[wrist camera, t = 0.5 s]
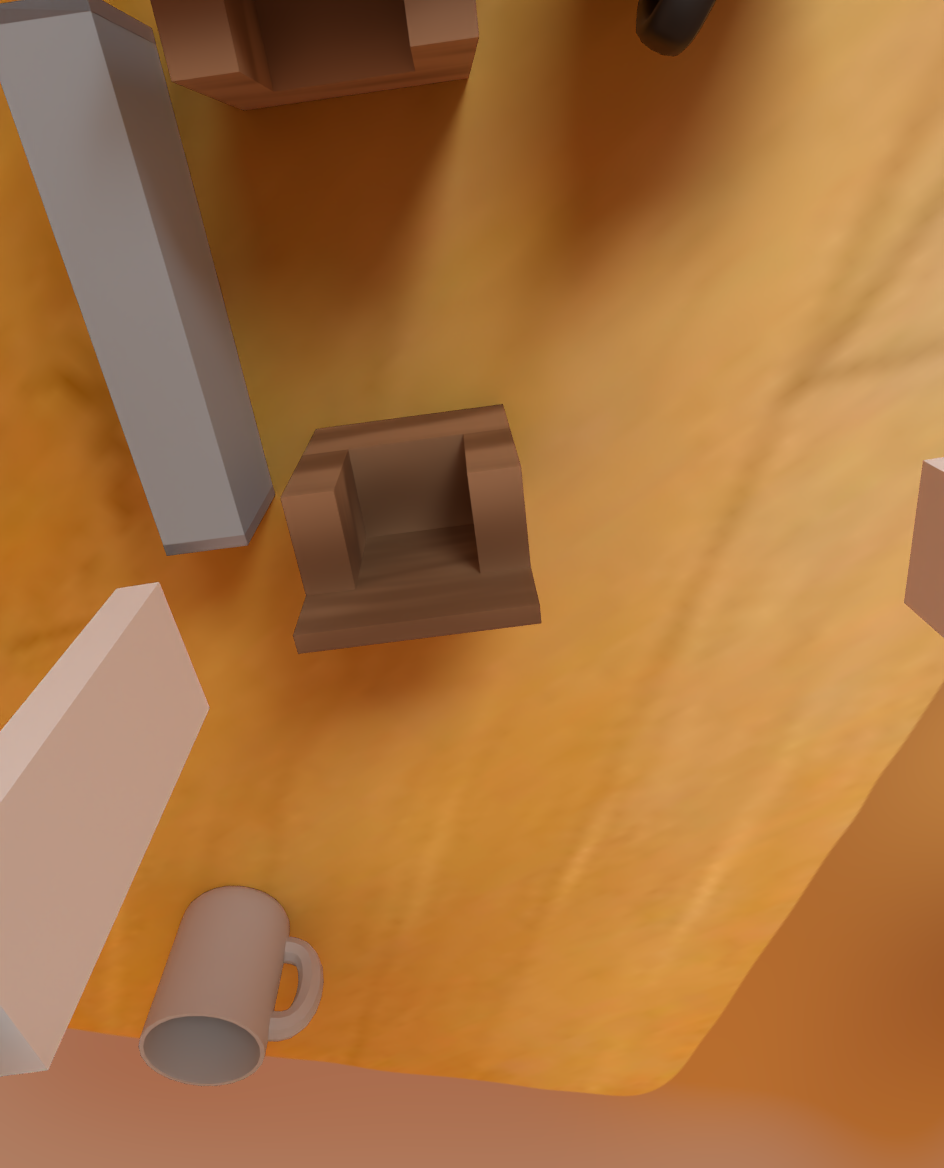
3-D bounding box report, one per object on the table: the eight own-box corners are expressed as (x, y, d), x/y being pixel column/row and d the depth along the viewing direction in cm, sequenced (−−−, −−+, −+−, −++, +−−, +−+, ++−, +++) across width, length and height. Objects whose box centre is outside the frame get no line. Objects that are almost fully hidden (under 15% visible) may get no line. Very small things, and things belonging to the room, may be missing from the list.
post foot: (316, 429, 36) (263, 530, 25) (502, 404, 35) (529, 495, 25) (337, 524, 38) (298, 653, 27) (513, 501, 38) (541, 623, 27)
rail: (60, 41, 28) (-27, 7, 23) (151, 28, 28) (84, -10, 23) (205, 503, 37) (167, 555, 32) (275, 494, 37) (247, 545, 32)
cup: (185, 877, 49) (137, 1007, 42) (337, 892, 51) (317, 1021, 43) (184, 948, 53) (139, 1081, 45) (326, 960, 54) (307, 1092, 46)
